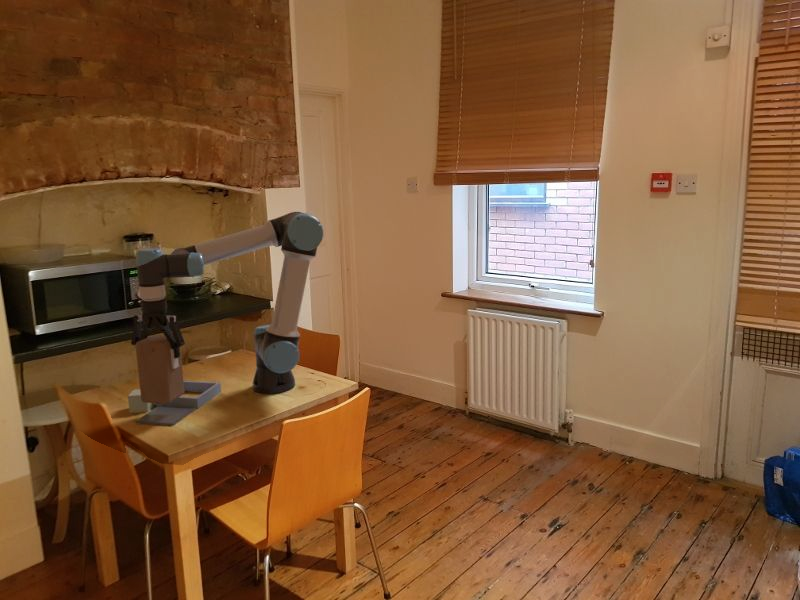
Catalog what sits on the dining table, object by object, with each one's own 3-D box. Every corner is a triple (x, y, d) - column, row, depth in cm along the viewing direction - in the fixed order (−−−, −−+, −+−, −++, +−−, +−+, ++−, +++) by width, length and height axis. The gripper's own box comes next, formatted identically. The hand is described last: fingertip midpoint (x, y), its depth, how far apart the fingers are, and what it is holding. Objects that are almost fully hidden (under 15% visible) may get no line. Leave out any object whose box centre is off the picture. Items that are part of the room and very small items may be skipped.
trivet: (194, 410, 205) (194, 407, 204) (172, 425, 192) (172, 423, 192) (159, 408, 207) (159, 405, 207) (135, 423, 195) (135, 420, 195)
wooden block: (168, 405, 193) (162, 343, 189) (140, 403, 195) (133, 342, 190) (185, 394, 202) (180, 335, 198) (158, 392, 204) (152, 334, 200)
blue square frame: (221, 391, 221) (220, 382, 221) (198, 408, 206) (197, 398, 205) (180, 389, 224) (179, 380, 224) (155, 405, 209) (154, 396, 208)
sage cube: (154, 405, 210) (152, 388, 209) (148, 412, 204) (146, 395, 203) (136, 406, 210) (134, 389, 208) (129, 412, 204) (127, 395, 203)
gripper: (192, 296, 193) (198, 364, 198) (128, 295, 197) (135, 361, 202) (179, 301, 186) (186, 372, 190) (113, 300, 190) (121, 368, 195)
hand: (160, 366), depth 196 cm, fingers closed on wooden block, 10 cm apart
